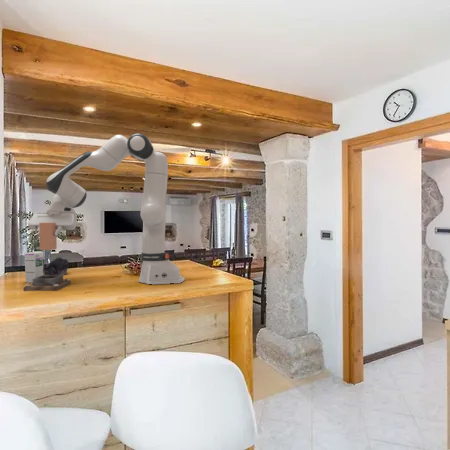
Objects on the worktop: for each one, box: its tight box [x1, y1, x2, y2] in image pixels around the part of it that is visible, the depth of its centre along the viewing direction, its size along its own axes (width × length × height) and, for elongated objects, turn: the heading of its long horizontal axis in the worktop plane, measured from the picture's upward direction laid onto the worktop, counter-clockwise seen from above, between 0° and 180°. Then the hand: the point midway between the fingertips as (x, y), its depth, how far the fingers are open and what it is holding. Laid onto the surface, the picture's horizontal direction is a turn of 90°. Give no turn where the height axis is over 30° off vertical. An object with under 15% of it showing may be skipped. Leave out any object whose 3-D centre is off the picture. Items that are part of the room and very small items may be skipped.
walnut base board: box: [23, 275, 72, 292], centre depth 144 cm, size 14×14×4 cm
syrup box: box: [24, 250, 45, 284], centre depth 155 cm, size 6×6×14 cm
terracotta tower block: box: [38, 223, 58, 251], centre depth 143 cm, size 5×5×12 cm
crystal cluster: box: [44, 257, 70, 276], centre depth 172 cm, size 13×14×10 cm
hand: (47, 235), depth 142 cm, fingers closed on terracotta tower block, 5 cm apart
